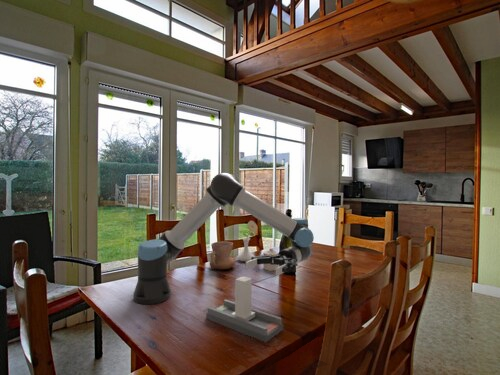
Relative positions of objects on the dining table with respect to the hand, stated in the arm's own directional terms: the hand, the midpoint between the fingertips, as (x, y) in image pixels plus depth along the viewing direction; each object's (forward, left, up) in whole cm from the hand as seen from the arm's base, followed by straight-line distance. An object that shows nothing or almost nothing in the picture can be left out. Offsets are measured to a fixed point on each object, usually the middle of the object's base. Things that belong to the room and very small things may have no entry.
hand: (260, 268), depth 110 cm
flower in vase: (+24, +71, -17) cm, 77 cm away
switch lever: (-9, -5, -15) cm, 18 cm away
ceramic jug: (+4, +61, -17) cm, 64 cm away
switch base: (-9, -5, -17) cm, 20 cm away
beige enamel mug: (+29, +51, -17) cm, 62 cm away
